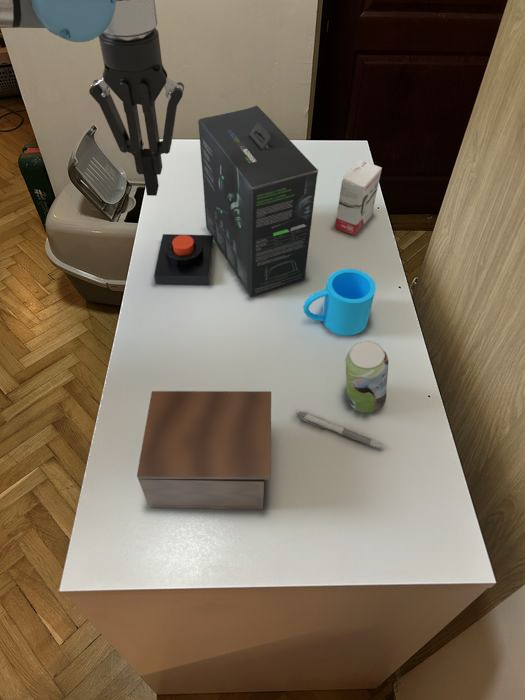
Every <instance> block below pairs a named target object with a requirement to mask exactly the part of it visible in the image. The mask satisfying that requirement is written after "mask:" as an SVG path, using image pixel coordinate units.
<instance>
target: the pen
mask: <svg viewBox="0 0 525 700" xmlns="http://www.w3.org/2000/svg"><path fill="white" fill-rule="evenodd" d="M295 414H296V415H297V417H299V418H300V419H301V420H302V421H304V422H306V423H308V424H310V425H312V426H315V427H319V428H322V429H328V430H330V431H333V432H335V433H338V434H340V435H342V436H345V437H348V438H350V439H352V440H355V441H357V442H360V443H361V444H364V445H367V446H370V447H373V448H377V449H385V447H384V445H383V444H382V443H380V442H378V441H377V440H375V439H372V438H371V437H368V436H365V435H363V434H361V433H358V432H355V431H354V430H350V429H348V428H346V427H344V426H343V427H342V426H339V425H337V424H335V423H332V422H329V421H327V420H324V419H322V418H321V417H317V416H315V415H312V414H310V413H307V412H304V411H295Z"/></svg>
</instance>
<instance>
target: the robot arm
mask: <svg viewBox="0 0 525 700" xmlns="http://www.w3.org/2000/svg"><path fill="white" fill-rule="evenodd" d="M157 16H158V15H157V8H156V1H155V0H0V29H11V28H12V29H15V28H17V29H47V31H48V32H50V33H51V34H53V35H55V36H58V37H59V38H61V39H64V40H66V41H69V42H72V43H85V42H90V41H93V40H94V39H96V38H98V40H99V45H100V50H101V56H102V61H103V65H104V68H103V71H102V77H101V78H100V79H94V80H93V81H92V83H91V85H90V87H89V90H88V92H89V95H90V96H91V97H92V98H93V99H94V101H96V103H97V104H98V105H99V107H100V109H101V111H102V114H103V115H104V118H105V120H106V123H107V125H108V127H109V129H110V132H111V133H112V136H113V138H114V140H115V142H116V144H117V146H118V148H119V151H120V152H121V153H124V154H126V153H128V154H131V155H132V156H133V159H134V166H135V170H136V173H137V175H143V180H144V184H145V191H146V196H148V197H149V196H150V197H151V196H153V197H156V196H158V191H159V178H158V175H159V176H160V175H161V174H162V171H163V161H162V155H163V154H165V155H168V154H169V153H170V152H171V147H172V144H173V136H174V129H175V122H176V116H177V115H176V114H177V110H178V109H177V108H178V105H179V103H180V101H181V99H182V98H183V96H184V90H185V85H184V83H183V82H181V81H178V82H175V81H174V80H172V79H170V78H169V77H168V72H167V71H166V69H165V68H164V65H163V62H162V61H163V59H162V51H161V42H160V34H159V30H158V29H157V28H156V27H157V25H158V17H157ZM163 89H165V97H166V98H167V99H168V101H167V105H166V113H165V121H164V128H163V136H162V140H161V141H160V133H159V132H160V131H159V127H158V118H157V111H156V100H157V99H158V97H159V95H160V94H161V92H162V91H163ZM111 91H112V92H113V93H114V94H115V95H116V96H117V97H118V99H119V100H120V101H121V102H122V107H123V110H124V113H125V118H126V123H127V124H126V125H127V128H128V131H127V128H126V126H125V124H124V122H123V120H122V117H121V115H120V113H119V110H118V108H117V105H116V103H115V101H114V98H113V96H112V95H111ZM138 105H140V106H141V108H142V113H143V116H144V123H145V130H146V137H147V142H148V148H143V147H144V145H145V142H143V141H144V140H143V136H142V135H143V134H142V130H141V123H140V122H141V121H140V117H139V110H138V109H139V108H138Z"/></svg>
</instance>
